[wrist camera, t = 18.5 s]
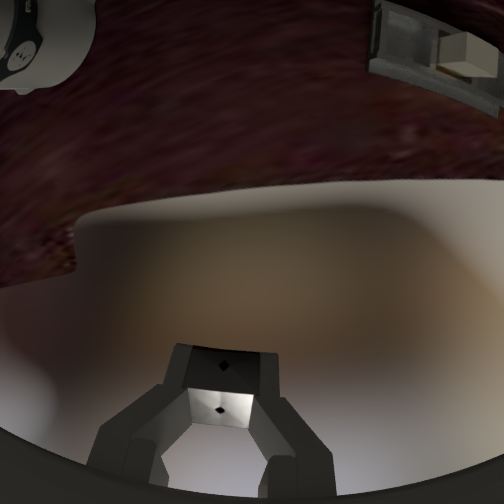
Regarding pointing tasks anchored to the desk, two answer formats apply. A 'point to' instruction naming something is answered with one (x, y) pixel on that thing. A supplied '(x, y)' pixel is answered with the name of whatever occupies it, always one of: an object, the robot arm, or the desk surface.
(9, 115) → the desk surface
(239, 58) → the desk surface
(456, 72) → the block
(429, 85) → the rack
